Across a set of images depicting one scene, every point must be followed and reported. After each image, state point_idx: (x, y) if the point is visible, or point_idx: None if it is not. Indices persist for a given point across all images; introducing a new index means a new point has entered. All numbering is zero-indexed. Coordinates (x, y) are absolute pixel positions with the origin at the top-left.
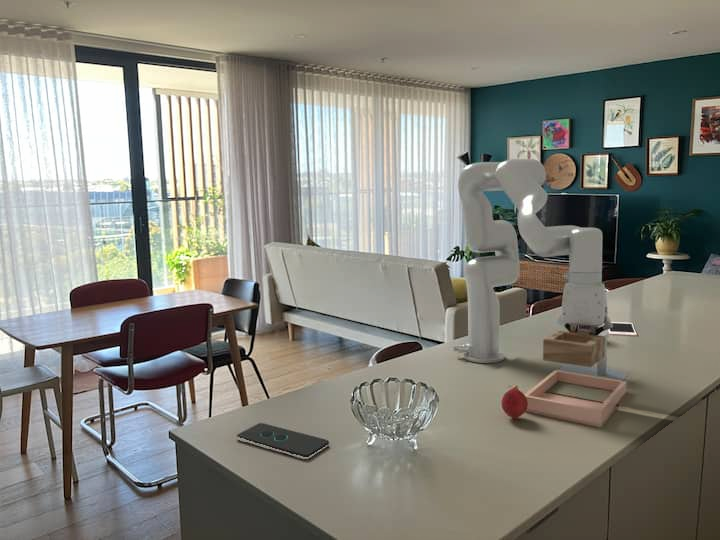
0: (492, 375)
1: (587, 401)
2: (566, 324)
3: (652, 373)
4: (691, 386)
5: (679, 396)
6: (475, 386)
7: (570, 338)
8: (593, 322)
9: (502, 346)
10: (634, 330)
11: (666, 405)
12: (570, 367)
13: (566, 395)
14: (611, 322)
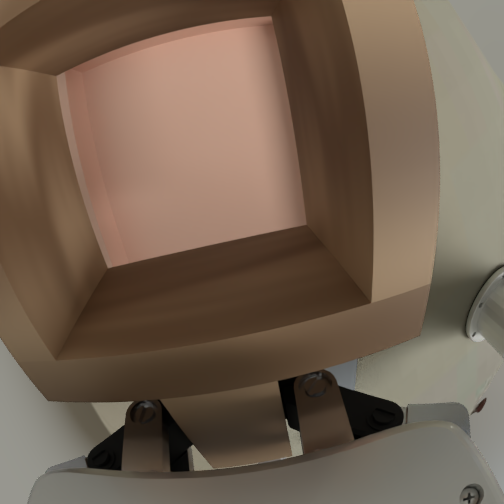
0: (469, 222)
1: (176, 190)
2: (393, 425)
3: None
4: (113, 420)
5: None
6: (469, 125)
7: (283, 292)
8: (81, 498)
9: (469, 369)
10: None
11: None
12: (339, 375)
13: (255, 192)
14: None
